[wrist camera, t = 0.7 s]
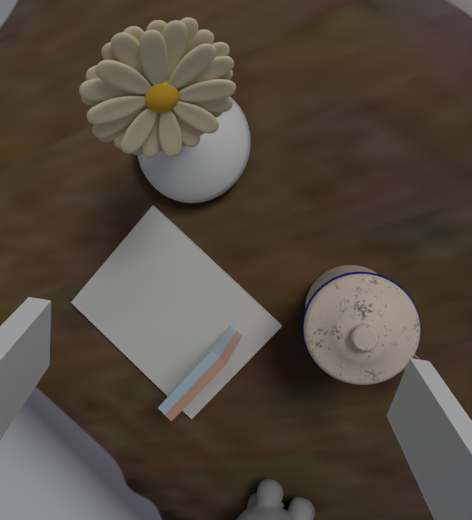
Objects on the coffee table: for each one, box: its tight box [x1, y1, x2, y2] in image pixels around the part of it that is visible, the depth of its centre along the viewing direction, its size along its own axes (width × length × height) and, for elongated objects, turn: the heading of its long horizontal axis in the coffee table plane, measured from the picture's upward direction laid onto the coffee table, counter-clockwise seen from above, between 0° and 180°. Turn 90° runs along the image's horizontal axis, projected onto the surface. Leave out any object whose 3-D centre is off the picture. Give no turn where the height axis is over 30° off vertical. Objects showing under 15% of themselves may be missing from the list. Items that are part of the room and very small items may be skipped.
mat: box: [71, 205, 282, 419], centre depth 45 cm, size 18×14×1 cm
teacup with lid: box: [302, 265, 421, 385], centre depth 37 cm, size 12×9×12 cm
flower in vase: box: [79, 18, 250, 203], centre depth 31 cm, size 13×11×25 cm
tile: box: [158, 325, 242, 421], centre depth 40 cm, size 2×7×9 cm, turn 137°
